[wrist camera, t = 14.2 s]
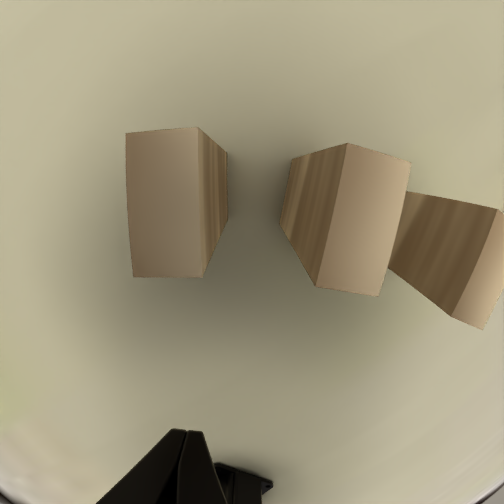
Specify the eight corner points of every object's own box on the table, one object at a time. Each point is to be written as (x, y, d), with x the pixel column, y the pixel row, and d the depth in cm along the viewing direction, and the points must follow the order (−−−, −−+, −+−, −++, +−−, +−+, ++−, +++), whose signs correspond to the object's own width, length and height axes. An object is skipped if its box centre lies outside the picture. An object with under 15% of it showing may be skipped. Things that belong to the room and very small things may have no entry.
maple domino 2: (324, 166, 19) (411, 162, 8) (310, 230, 20) (378, 296, 9) (292, 158, 19) (347, 142, 8) (279, 223, 20) (315, 286, 9)
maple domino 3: (404, 200, 19) (525, 232, 8) (380, 255, 20) (482, 329, 9) (380, 187, 19) (497, 209, 8) (355, 244, 20) (450, 316, 9)
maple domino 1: (226, 152, 18) (198, 127, 8) (227, 219, 19) (202, 277, 9) (193, 153, 18) (125, 133, 8) (195, 219, 19) (133, 277, 9)
